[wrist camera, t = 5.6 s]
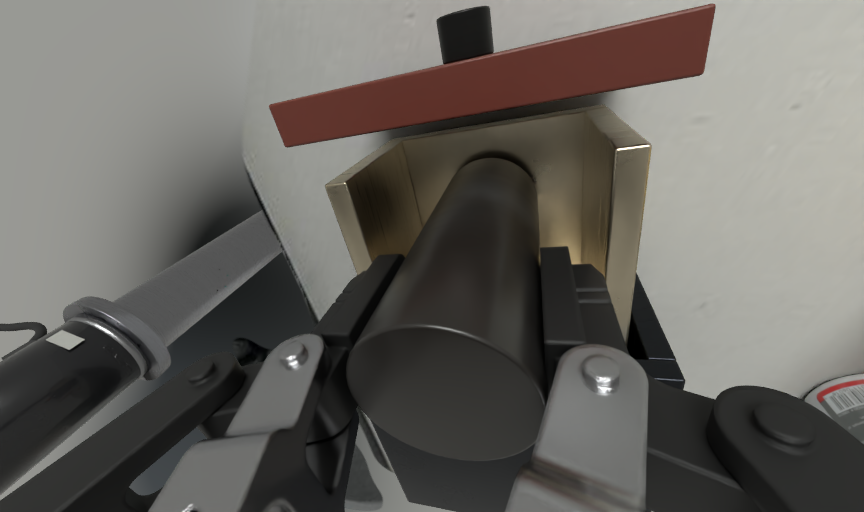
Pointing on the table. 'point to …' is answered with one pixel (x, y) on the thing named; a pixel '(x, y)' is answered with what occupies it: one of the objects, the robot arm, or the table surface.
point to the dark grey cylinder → (462, 325)
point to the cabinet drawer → (508, 136)
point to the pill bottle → (842, 402)
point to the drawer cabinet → (493, 479)
